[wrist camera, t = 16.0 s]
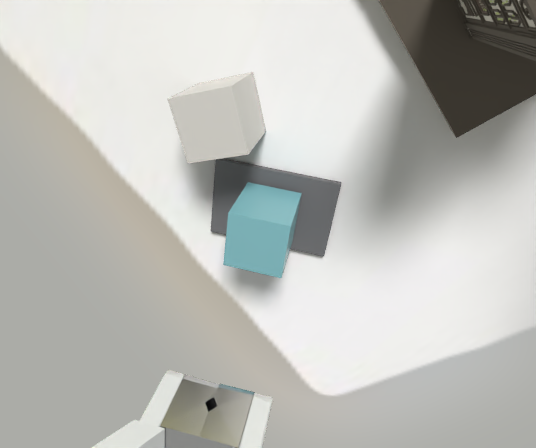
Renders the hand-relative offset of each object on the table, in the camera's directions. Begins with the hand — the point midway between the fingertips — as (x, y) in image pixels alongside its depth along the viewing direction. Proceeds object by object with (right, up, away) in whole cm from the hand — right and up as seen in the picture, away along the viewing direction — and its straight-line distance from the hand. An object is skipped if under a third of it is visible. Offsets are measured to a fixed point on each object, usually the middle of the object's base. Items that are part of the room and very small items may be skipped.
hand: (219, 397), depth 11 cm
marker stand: (+2, +6, +30) cm, 31 cm away
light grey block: (-2, +15, +26) cm, 30 cm away
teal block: (+2, +6, +29) cm, 30 cm away
